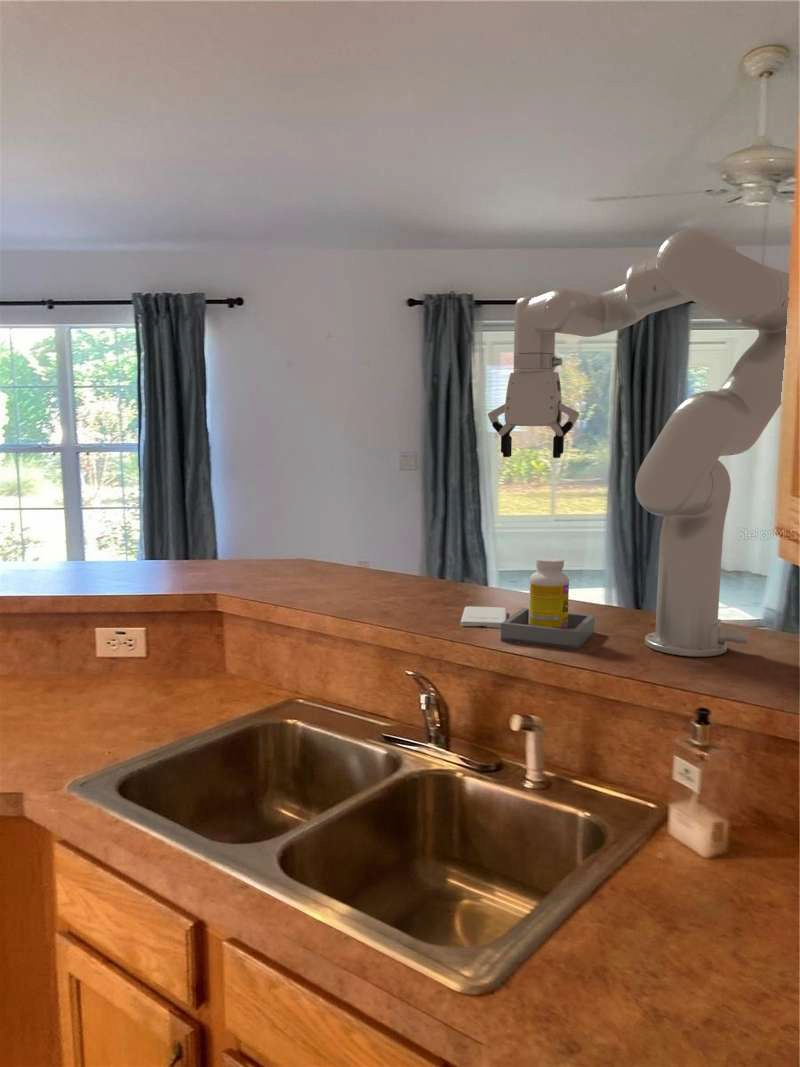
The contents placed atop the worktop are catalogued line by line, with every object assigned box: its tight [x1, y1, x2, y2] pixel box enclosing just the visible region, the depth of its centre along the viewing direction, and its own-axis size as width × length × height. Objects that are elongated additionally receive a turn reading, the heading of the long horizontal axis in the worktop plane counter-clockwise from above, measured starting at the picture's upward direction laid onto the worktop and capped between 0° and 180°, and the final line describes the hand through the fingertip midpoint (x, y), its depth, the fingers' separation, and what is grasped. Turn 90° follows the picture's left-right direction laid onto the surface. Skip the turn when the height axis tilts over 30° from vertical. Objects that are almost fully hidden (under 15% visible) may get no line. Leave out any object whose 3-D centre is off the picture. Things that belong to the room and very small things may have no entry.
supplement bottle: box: [528, 556, 570, 629], centre depth 134 cm, size 7×7×13 cm
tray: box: [500, 607, 596, 651], centre depth 135 cm, size 13×13×3 cm
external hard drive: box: [459, 605, 507, 629], centre depth 147 cm, size 2×8×12 cm
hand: (531, 457), depth 148 cm, fingers open, 9 cm apart
